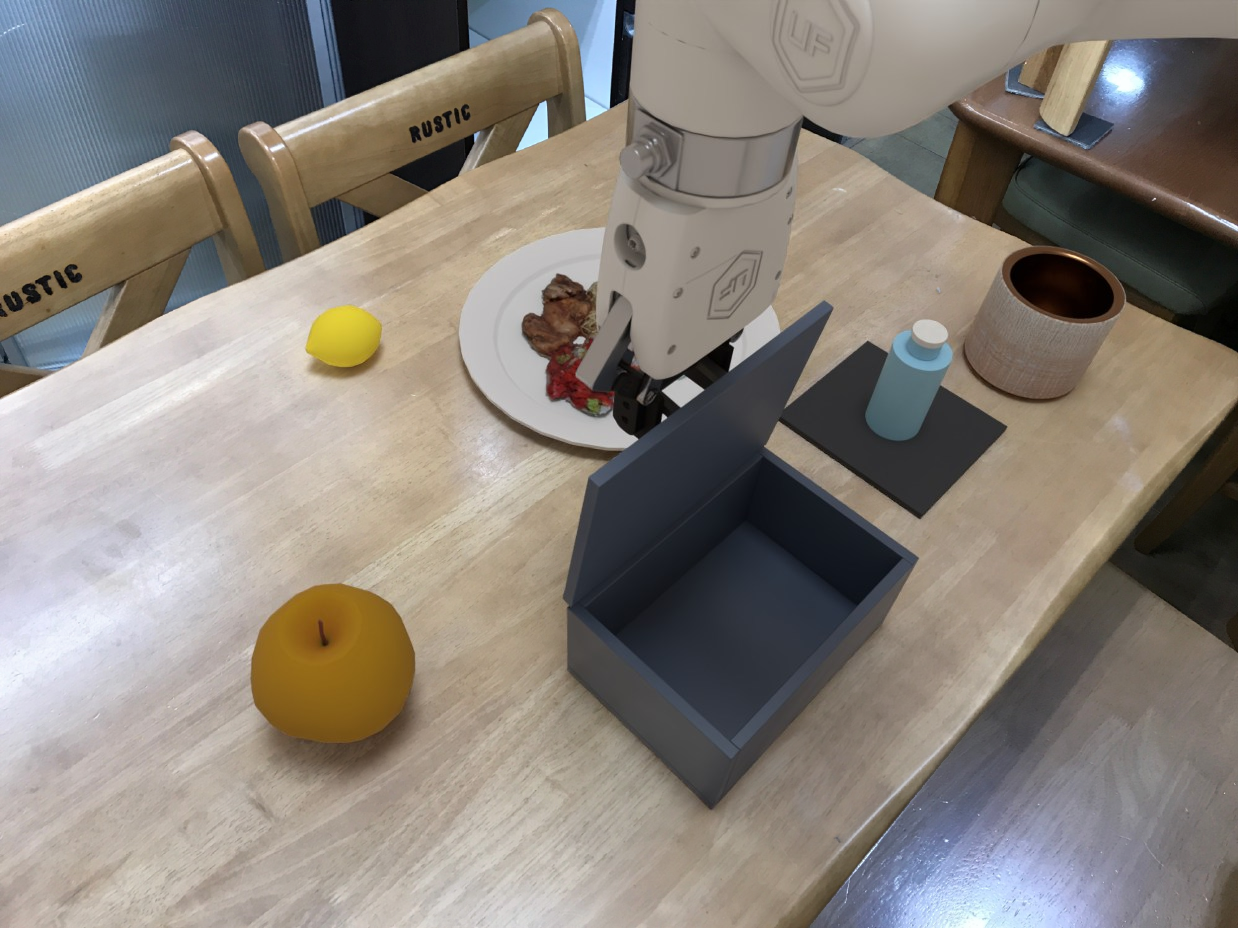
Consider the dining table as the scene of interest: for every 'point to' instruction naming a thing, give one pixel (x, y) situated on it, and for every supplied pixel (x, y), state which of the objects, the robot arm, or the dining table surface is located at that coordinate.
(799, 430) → the mat
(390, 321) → the dining table surface
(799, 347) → the lid
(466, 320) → the plated food
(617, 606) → the chest
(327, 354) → the lemon
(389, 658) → the apple
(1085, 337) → the planter
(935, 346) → the bottle
